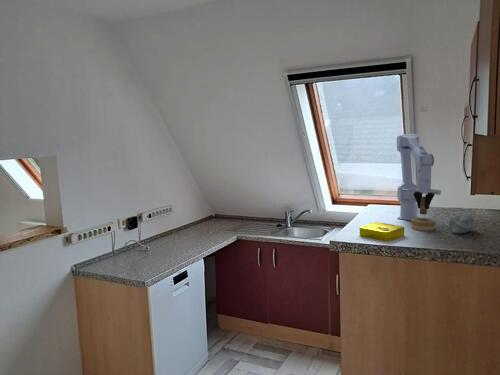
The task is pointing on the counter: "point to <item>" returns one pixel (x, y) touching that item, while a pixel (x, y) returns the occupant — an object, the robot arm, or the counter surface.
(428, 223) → the bead
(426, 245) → the counter surface
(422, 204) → the peg
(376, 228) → the element tile
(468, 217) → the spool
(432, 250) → the counter surface
